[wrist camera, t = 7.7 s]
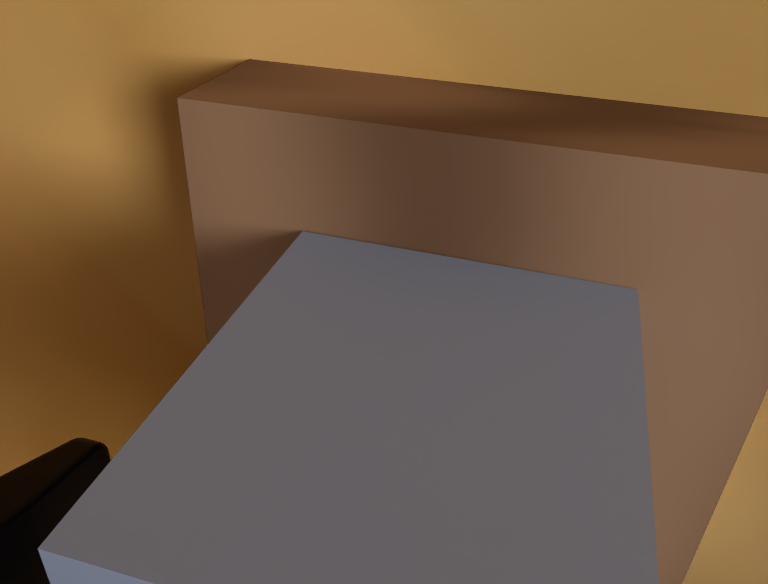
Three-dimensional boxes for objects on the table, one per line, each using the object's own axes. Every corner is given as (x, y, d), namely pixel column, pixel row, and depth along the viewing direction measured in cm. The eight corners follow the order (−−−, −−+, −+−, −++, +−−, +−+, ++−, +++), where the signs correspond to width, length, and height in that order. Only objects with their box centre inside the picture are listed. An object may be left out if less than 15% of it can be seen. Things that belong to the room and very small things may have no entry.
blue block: (638, 289, 10) (669, 739, 5) (569, 524, 12) (543, 965, 7) (301, 231, 11) (37, 549, 6) (307, 459, 13) (131, 809, 8)
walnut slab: (800, 112, 11) (856, 185, 8) (654, 504, 15) (663, 626, 13) (262, 52, 12) (177, 98, 10) (283, 419, 17) (229, 510, 15)
